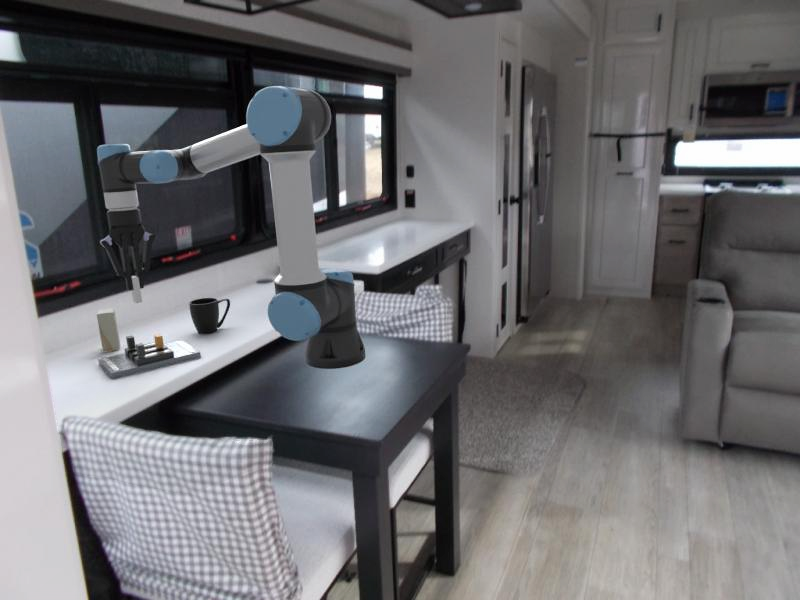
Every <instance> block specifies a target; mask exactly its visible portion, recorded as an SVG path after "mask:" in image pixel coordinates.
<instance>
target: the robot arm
mask: <svg viewBox="0 0 800 600" xmlns="http://www.w3.org/2000/svg"><path fill="white" fill-rule="evenodd" d="M245 119H246V124H243V125H241V126H239V127H236V128H233V129H230V130H228V131H226V132H223V133H220V134H217V135H215V136H212V137H210V138H207V139H204V140H202V141H199V142H196V143H194V144H192V145H189V146H186V147H184V148H181V149H180V148H178V149H170V150H169V149H153V150H145V151H144V150H141V151H132V150H131V146H130V145H129V144H128V143H116V144H115V143H114V144H101V145H99V146H97V148H96V154H97V165H98V168H99V174H100V180H101V185H102V191H103V197H104V198H103V199H104V205H105V208H106V209H107V212H106V217H107V218H106V219H107V223H108V231H107V236H106V237H105V238H103V239H100V240H99V244H100V245H101V246H102V247H103V248H104V249H105V251H106V254H107V256H108V259H109V261H110V263H111V265H112V267H113V269H114V272H115V274H116V276H118V277H121V278H125V285H126V289H127V291H129V292H130V291H131V296H132V301H133V303H134V304H140V303H143V298H142V291H141V289H144V287H145V283H144V280H143V279H144V278H143V276H144V275H145V274H148V273H149V272H150V268H151V258H152V257H151V256H152V247H153V243H154V240H155V239H156V235H155V234H153V233H149V232H148V231H146V229H145V227H144V226H143V224H142V223H143V222H142V215H141V209H139V208H138V207H139V206H140V202H139V198H138V192H137V184H141V185H142V184H155V185H159V184H166V183H171V182H176V181H185V180H187V181H188V180H191V181H193V180H197V179H200V178H203V177H205V176H206V175H207V174H208V173H210V172H214V171H216V170H219V169H222V168H225V167H227V166H231V165H233V164H236V163H240V162H241V161H245V160H248V159H251V158H253V157H255V156H259V155H260V156H261V157H263V159H264V160H266V162H268V166H269V167H268V168H269V176H270V177H269V178H270V185H271V186H270V187H271V194H272V195H271V196H272V197H271V198H272V205H273V215H274V223H275V224H274V225H275V234H276V235H275V236H276V243H277V252H278V263H279V270H280V271H279V274H278V275H277V276H276V277H275V278H274V281H273V282H274V291H275V292H274V293H275V295H273V297H272V298H271V300H270V301H269V303H268V306H267V317H268V320H269V323H270V324H271V327H272V328H273V329H274V331H276V332H278V333H279V334H280V336H281V337H283V338H284V339H287V340H289V341H295V342H298V341H299V342H300V341H304V340H306V339H308V340H307V344H306V348H305V352H304V359H305V363H306V365H308V366H310V367H312V368H316V369H322V370H334V369H344V368H349V367H352V366H356V365H358V364H360V363H362V362H363V361H364V360H365V359H366V348H365V345H364V343H363V342H364V341H362V340H363V339H362V337H361V335H360V332H359V331H358V326H357V314H356V313H357V312H356V310H357V309H356V294H355V282H354V275H353V273H352V272H351V271H350V270H348V269H340V268H339V269H338V268H327V269H326V268H324V269H322V268H321V269H320V266H319V256H318V246H317V245H318V244H317V233H316V222H315V212H314V211H315V210H314V200H313V187H312V177H311V176H312V175H311V164H310V160H311V159H312V157H313V156H314V154H315V153H316V142H318V141H319V140H321V139H322V138H324V137H325V136H326V134H327V133H328V132H329V130H330V126H331V124H332V113H331V108H330V106H329V104H328V103H327V101H326V99H325V98H324V97H323V96H322V95H320V94H319V93H318V92H316V91H314V90H312V89H307V88H298V87H293V86H292V87H291V86H286V85H273V86H266V87H264V88H262V89H260V90H258V91H256V93H255V94H254V95H253V97H252V98H251V100H250V101H249V103H248V106H247V109H246V116H245ZM142 239H143V241H144V242H143V243H144V244H143V251H142V252H143V253H142V254H143V255H142V261H141V255H140V246H139V245H140V242H141V240H142ZM112 241H113V242H114V243H115V244H116V245H117V246H118V248H119V251H120V257H121V263H122V266H121V263H120V262H119V260H118V258H117V255H116V253H115V250H114V248H113V247H112V245H113V242H112ZM129 248H130V251H131V258H132V264H133V269H134V274H135V275H133V274H132V268H131V262H130V261H131V260H130V256H129Z"/></svg>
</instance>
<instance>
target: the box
mask: <svg viewBox="0 0 800 600" xmlns="http://www.w3.org/2000/svg"><path fill="white" fill-rule="evenodd" d="M115 310H116V309H115V308H106V309H98V310H97V312H96V318H97V324H98V330H99V335H100V336H99V337H100V342H101V347H102V352H103V353H106V352H115V351H119V350H120V349H121V342H120V336H119V328H118V323H117V317H116V311H115Z"/></svg>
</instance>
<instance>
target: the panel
mask: <svg viewBox="0 0 800 600" xmlns="http://www.w3.org/2000/svg"><path fill="white" fill-rule="evenodd" d="M125 338H126V339H125V340H126V345H127V346H126V347H127V348H126V347H125V348H124V353H120V354H114V355H110V356H105V357H103V358H101V357H100V358H99V359H97V361H98V365H99V366H100V367H101V368H102V370H103V371H104V372H105V373H106V374H107V375H108V376H109V377H110V378H111V379H112V380H114V379H118V378H121V377H126V376H129V375H134V374H138V373H142V372H146V371H151V370H154V369H159V368H163V367H167V366H170V365H173V364H174V365H175V364H178V363H182V362H188V361H191V360H194V359H199V358H201V357H202V355H201V351H200V350H198V349H196V348H195V347H194V346H192V345H190V344H189V343H187V342H186V341H184V340H178V341H173V342H168V343H163V344H164V347H160V348H158V347H156V345H155V341H154V342H149V343H142V342H140V343H136V341H135V336H133V335H128V336H126V337H125Z"/></svg>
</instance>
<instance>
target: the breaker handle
mask: <svg viewBox="0 0 800 600" xmlns="http://www.w3.org/2000/svg"><path fill="white" fill-rule="evenodd" d="M163 337H164V336H163V335H162V334H160V333H159V334H154V335H153V339H154V342H155V345H156V347H158V348H160V347H164V344H165V343H164V339H163Z"/></svg>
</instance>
